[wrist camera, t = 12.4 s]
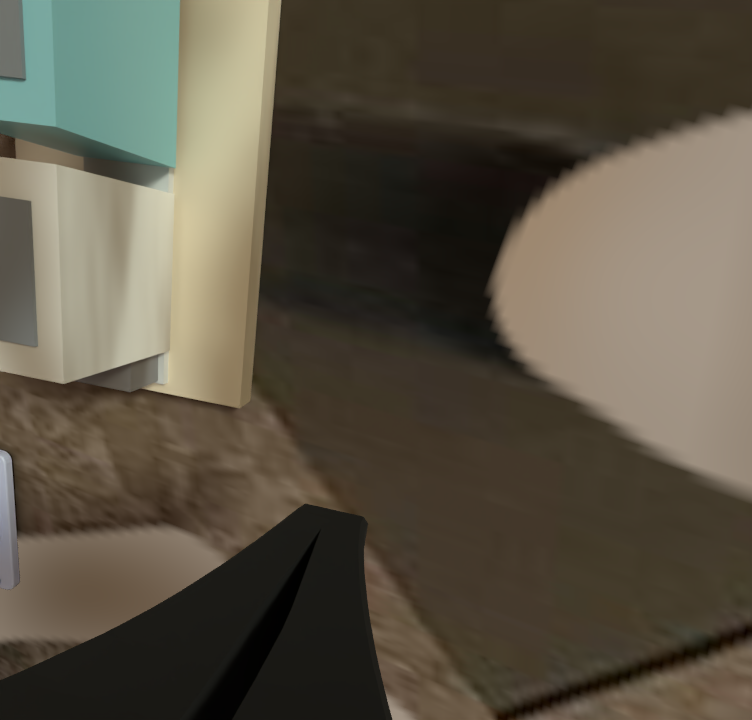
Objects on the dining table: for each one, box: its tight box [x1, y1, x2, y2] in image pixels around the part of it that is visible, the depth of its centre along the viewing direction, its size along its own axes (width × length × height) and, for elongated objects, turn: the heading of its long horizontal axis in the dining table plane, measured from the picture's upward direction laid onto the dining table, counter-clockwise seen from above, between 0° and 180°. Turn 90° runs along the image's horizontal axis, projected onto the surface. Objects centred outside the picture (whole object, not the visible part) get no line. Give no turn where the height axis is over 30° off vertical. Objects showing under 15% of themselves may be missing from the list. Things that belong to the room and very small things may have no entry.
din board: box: [0, 0, 281, 408], centre depth 13 cm, size 10×24×6 cm, turn 172°
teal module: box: [0, 0, 180, 168], centre depth 13 cm, size 4×6×5 cm, turn 172°
